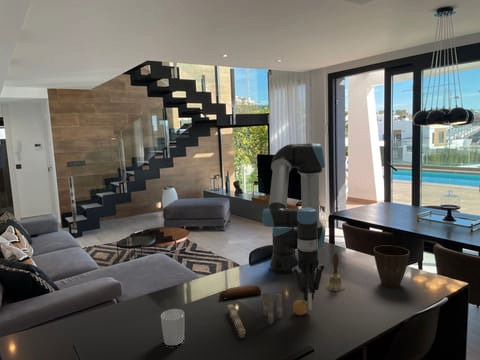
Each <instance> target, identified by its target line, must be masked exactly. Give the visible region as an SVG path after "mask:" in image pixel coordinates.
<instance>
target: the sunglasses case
mask: <svg viewBox="0 0 480 360" xmlns="http://www.w3.org/2000/svg"><path fill="white" fill-rule="evenodd" d="M219 293H220V294H219V296H220V295H221V298H220V299H224V298H231V299H234V298H241V297H242V298H243V297H248V296H255V295H262V289H261V288H260V287H259V286H257V285H241V286H235V287H234V286H233V287H230V288H227V289H225V290H221V291H220V292H219Z"/></svg>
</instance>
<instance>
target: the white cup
mask: <svg viewBox="0 0 480 360" xmlns="http://www.w3.org/2000/svg"><path fill="white" fill-rule="evenodd" d="M160 320H161V321H160V322H161V330H162V336H163V343H165V344H166V345H169V346H170V345H172V346H173V345H178V344H180V343H182V342H183V340H184V341H185V312H184V310H183V309H180V308H172V309H168V310H165V311H163V312H162V313H161V314H160ZM183 343H184V342H183ZM183 343H182V344H183ZM165 344H164V345H165ZM166 345H165V346H166Z"/></svg>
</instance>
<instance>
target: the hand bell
mask: <svg viewBox="0 0 480 360" xmlns="http://www.w3.org/2000/svg"><path fill="white" fill-rule="evenodd" d="M339 261H340V260H339V256H338V252H334V253H333V257H332V265H333V273H332V274H330V276H329V280H328V282H327V284H326V285H325V288H326V289H327V290H329V291H331V292H342V291H344V290H345V287H346V286H345V285H344V284H343V283H342V279H341V275H339V274H338V266H339Z"/></svg>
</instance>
